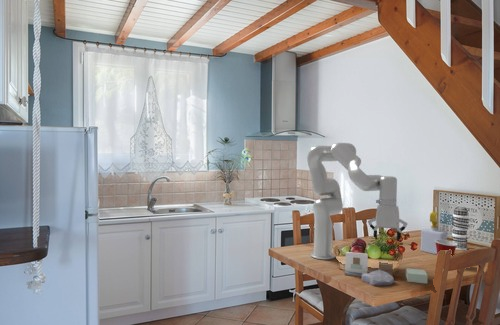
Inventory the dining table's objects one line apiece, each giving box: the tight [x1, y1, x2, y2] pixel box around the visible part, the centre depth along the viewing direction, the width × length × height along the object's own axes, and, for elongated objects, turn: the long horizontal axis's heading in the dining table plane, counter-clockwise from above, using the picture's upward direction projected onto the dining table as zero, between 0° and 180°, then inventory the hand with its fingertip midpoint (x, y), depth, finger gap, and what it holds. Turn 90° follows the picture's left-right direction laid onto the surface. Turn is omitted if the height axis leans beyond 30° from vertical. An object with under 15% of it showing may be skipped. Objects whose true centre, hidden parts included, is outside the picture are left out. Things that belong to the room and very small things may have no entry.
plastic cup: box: [435, 239, 458, 257], centre depth 203 cm, size 11×11×12 cm
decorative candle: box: [451, 206, 470, 251], centre depth 238 cm, size 9×9×25 cm
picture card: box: [344, 251, 369, 278], centre depth 184 cm, size 6×10×10 cm, turn 74°
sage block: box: [405, 268, 428, 284], centre depth 178 cm, size 8×8×4 cm
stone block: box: [360, 269, 395, 287], centre depth 174 cm, size 12×5×10 cm
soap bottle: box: [420, 211, 448, 256], centre depth 226 cm, size 12×7×23 cm, turn 37°
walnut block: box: [377, 262, 394, 277], centre depth 183 cm, size 6×6×6 cm
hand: (386, 239), depth 182 cm, fingers open, 9 cm apart
